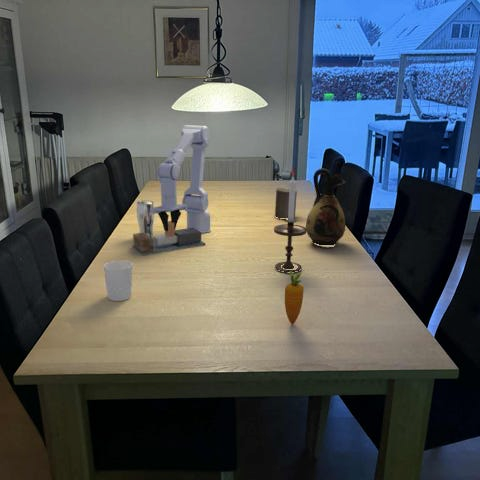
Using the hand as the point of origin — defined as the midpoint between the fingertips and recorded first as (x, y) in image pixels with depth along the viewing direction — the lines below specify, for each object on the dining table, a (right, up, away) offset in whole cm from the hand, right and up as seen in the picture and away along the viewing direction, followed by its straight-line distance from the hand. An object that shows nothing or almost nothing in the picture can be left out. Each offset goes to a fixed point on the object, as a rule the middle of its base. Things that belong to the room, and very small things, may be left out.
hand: (169, 229), depth 192 cm
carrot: (+41, -26, -59) cm, 76 cm away
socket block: (-9, -8, -3) cm, 13 cm away
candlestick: (+44, -14, -19) cm, 50 cm away
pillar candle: (+48, +7, +46) cm, 67 cm away
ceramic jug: (+60, -6, +8) cm, 61 cm away
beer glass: (-11, -3, +10) cm, 15 cm away
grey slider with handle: (+2, -4, +3) cm, 5 cm away
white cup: (-9, -21, -44) cm, 50 cm away
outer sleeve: (-1, -6, +2) cm, 6 cm away
